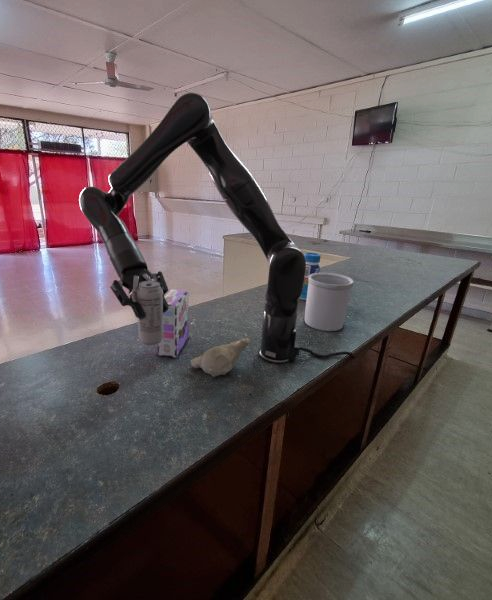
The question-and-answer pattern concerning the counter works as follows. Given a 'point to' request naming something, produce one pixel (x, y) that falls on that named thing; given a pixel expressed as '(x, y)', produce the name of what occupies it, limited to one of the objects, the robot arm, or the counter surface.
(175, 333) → the candy box
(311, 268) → the beverage bottle
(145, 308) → the energy drink can
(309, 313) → the utensil holder
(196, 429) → the counter surface
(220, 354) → the beige lumpy piece
